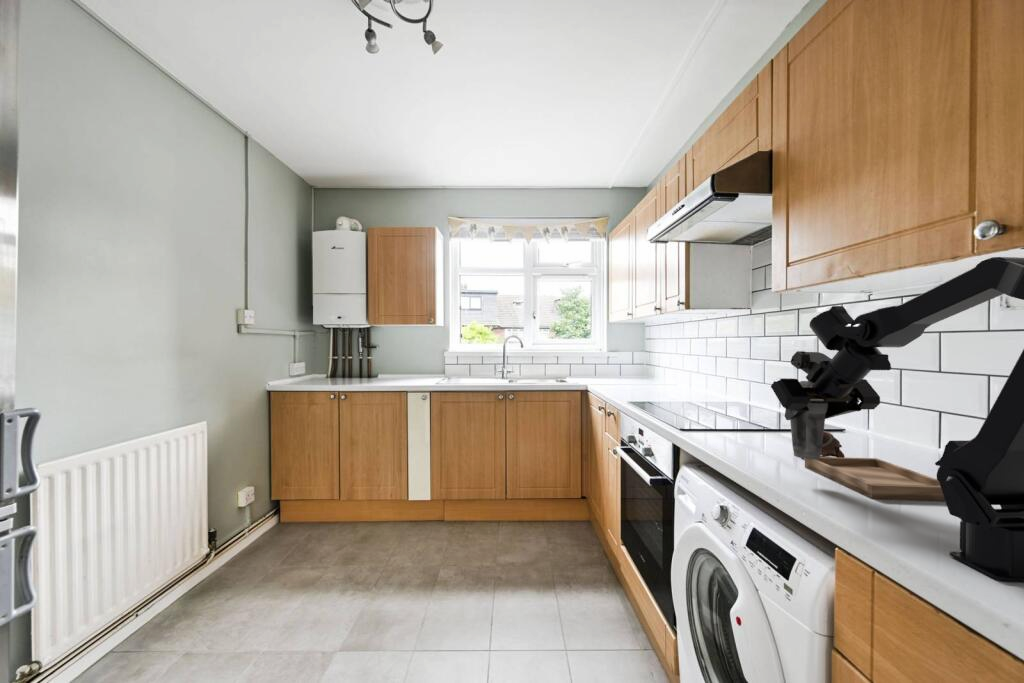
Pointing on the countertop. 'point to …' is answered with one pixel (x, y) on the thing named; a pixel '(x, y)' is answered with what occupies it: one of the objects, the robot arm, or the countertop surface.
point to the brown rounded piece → (831, 446)
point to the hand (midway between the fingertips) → (802, 418)
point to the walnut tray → (877, 478)
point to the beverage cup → (809, 428)
